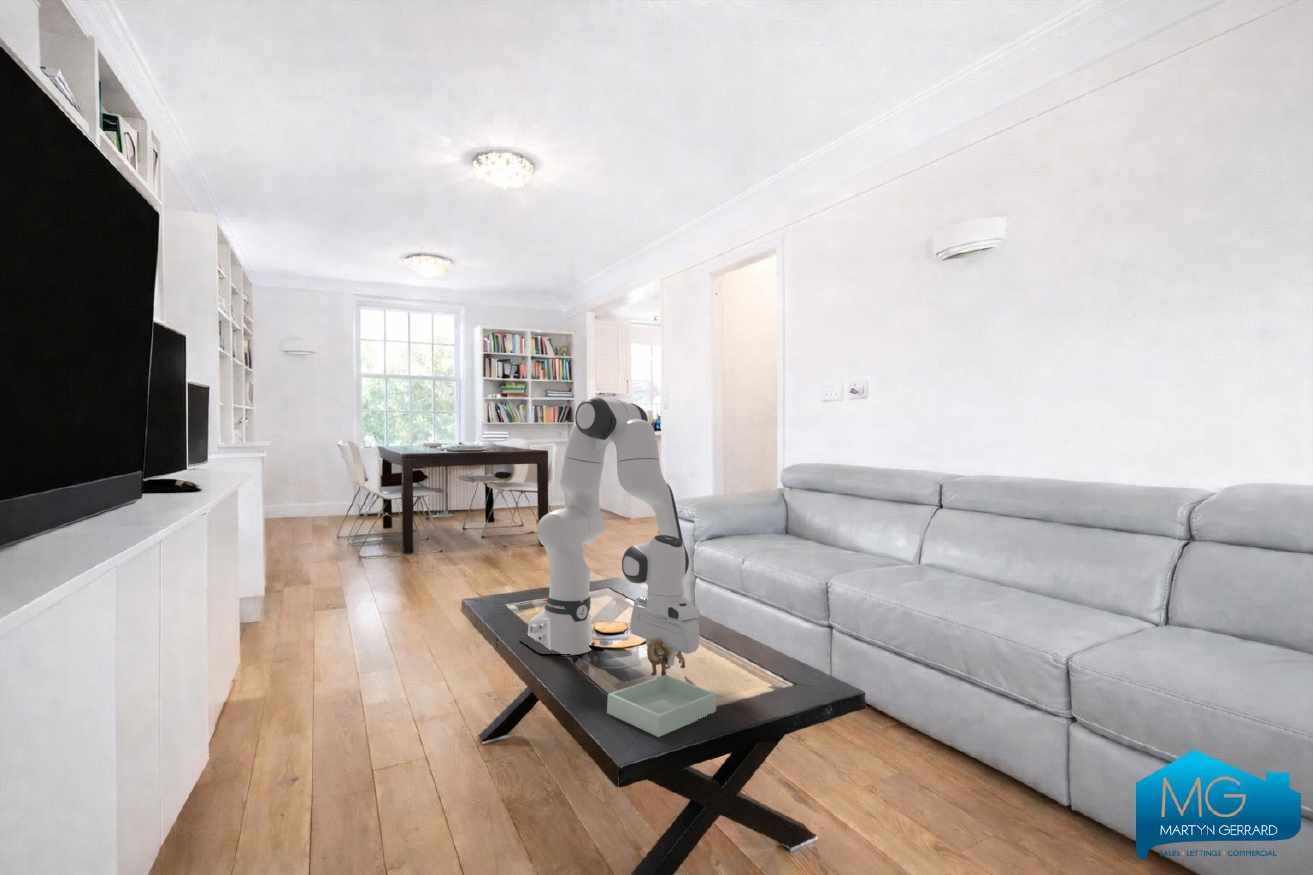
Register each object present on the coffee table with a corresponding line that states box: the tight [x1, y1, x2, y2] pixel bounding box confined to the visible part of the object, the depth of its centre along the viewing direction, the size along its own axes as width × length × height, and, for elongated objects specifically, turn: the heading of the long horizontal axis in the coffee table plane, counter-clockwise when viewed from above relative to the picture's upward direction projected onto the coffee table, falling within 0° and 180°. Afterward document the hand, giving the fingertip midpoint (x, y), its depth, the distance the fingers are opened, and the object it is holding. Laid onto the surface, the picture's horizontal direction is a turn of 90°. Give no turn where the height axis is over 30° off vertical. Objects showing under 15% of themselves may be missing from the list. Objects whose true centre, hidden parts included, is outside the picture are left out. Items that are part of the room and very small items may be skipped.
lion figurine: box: [646, 639, 686, 677], centre depth 154 cm, size 15×5×9 cm, turn 152°
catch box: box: [606, 674, 718, 738], centre depth 135 cm, size 15×18×4 cm
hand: (661, 661), depth 152 cm, fingers closed on lion figurine, 4 cm apart
